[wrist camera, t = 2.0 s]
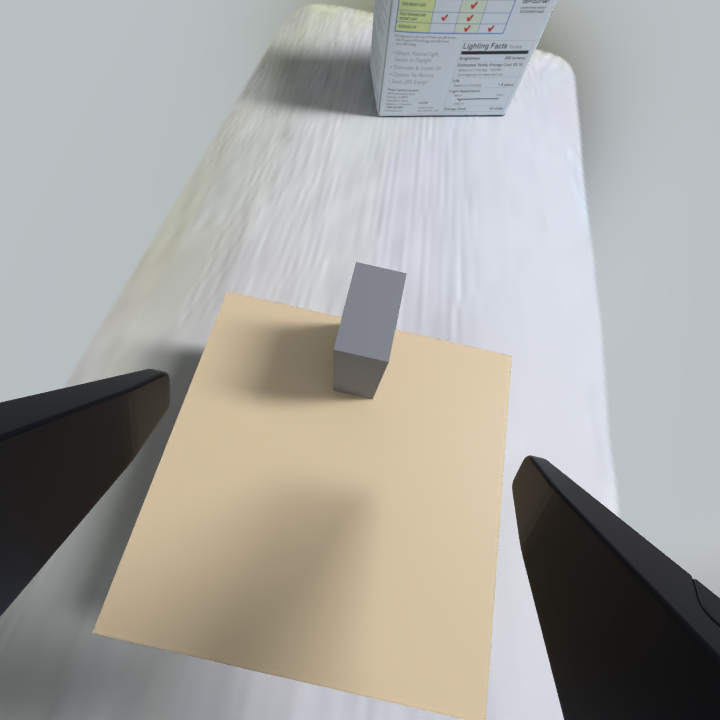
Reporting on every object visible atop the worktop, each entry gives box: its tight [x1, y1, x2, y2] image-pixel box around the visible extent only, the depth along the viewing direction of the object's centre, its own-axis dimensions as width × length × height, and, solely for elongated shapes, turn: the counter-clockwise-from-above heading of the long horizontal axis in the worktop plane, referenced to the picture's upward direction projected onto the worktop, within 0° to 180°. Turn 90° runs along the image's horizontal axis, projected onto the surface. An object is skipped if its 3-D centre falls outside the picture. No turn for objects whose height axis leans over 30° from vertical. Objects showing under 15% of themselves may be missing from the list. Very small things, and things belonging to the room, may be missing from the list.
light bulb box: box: [370, 0, 557, 116], centre depth 25 cm, size 11×7×11 cm, turn 97°
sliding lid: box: [92, 262, 512, 720], centre depth 12 cm, size 12×12×5 cm
